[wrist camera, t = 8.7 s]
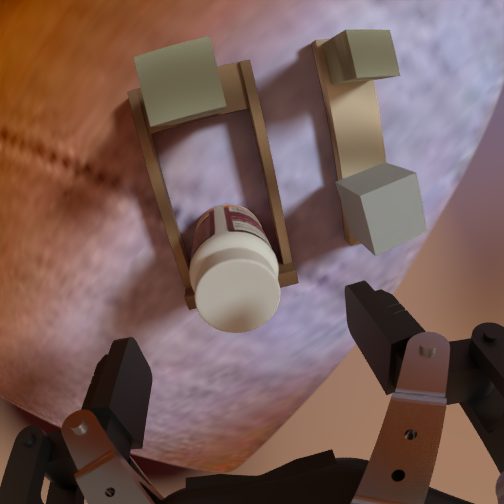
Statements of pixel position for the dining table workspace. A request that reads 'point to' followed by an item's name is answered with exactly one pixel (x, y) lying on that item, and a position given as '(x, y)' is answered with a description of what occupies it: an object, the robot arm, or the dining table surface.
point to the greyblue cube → (383, 206)
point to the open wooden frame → (193, 109)
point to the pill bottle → (233, 270)
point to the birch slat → (354, 98)
